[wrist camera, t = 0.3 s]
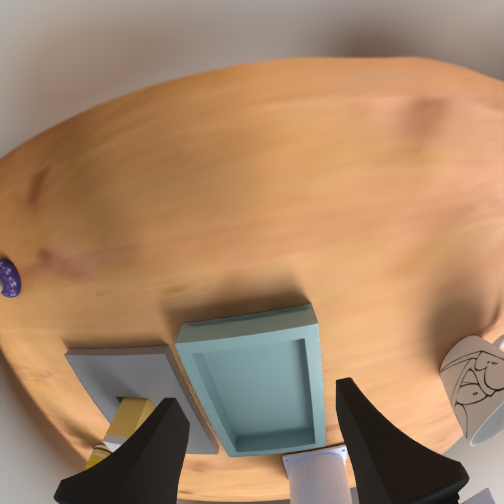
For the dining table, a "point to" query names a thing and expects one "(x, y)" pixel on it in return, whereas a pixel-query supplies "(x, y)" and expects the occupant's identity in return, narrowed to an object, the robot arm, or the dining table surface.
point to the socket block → (139, 384)
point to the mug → (476, 386)
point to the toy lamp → (9, 279)
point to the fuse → (127, 420)
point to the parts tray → (258, 379)
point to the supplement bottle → (98, 455)
